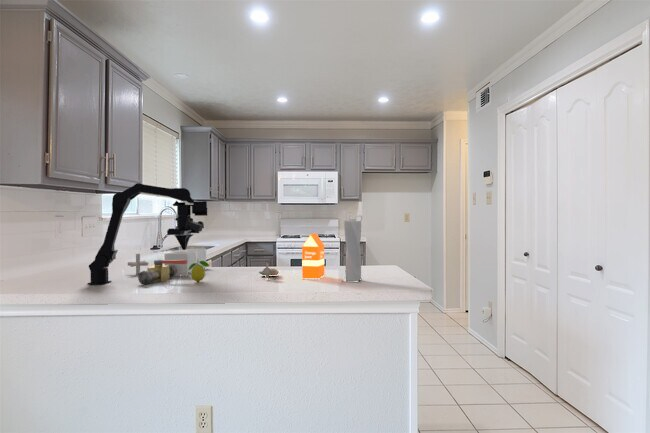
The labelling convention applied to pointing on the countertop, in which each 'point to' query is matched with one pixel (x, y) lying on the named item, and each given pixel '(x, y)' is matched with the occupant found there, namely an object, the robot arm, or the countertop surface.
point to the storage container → (188, 255)
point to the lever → (170, 261)
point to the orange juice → (313, 257)
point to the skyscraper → (353, 249)
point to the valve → (268, 271)
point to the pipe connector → (138, 263)
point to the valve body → (157, 274)
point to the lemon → (198, 271)
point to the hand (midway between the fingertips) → (184, 249)
